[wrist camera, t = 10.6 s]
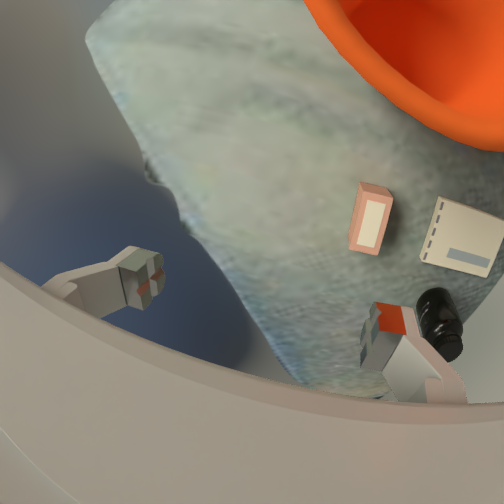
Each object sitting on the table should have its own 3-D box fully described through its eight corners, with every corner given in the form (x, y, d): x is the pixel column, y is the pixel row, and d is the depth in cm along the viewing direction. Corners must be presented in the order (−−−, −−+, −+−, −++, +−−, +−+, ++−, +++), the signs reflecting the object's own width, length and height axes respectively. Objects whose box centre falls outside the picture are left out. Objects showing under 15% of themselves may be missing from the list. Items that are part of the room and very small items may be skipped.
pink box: (386, 188, 34) (393, 198, 30) (373, 240, 38) (377, 255, 34) (359, 181, 35) (363, 190, 31) (348, 234, 39) (349, 249, 35)
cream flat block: (504, 219, 29) (508, 223, 28) (483, 273, 34) (486, 278, 33) (438, 195, 32) (442, 198, 31) (419, 256, 37) (421, 261, 36)
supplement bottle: (412, 293, 40) (426, 344, 30) (448, 281, 37) (470, 328, 27) (417, 322, 42) (429, 373, 32) (450, 311, 39) (468, 359, 29)
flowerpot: (360, -46, 18) (362, -125, 1) (501, 52, 18) (579, 35, 1) (283, 66, 31) (232, 21, 14) (435, 169, 31) (508, 218, 14)
